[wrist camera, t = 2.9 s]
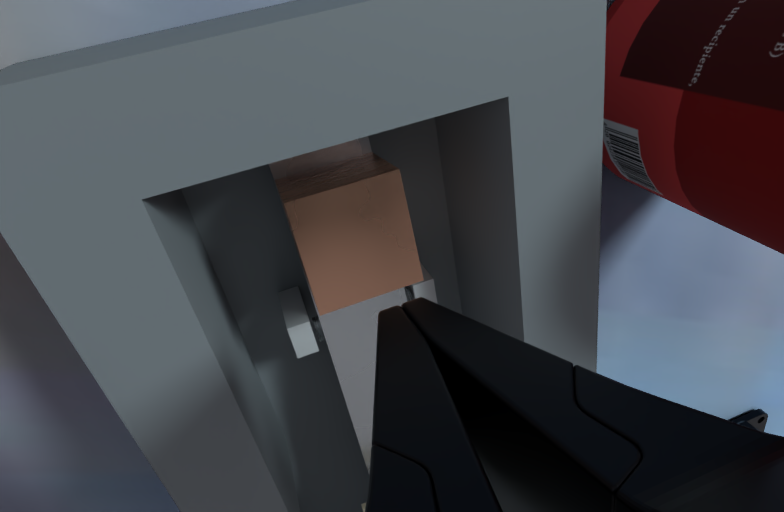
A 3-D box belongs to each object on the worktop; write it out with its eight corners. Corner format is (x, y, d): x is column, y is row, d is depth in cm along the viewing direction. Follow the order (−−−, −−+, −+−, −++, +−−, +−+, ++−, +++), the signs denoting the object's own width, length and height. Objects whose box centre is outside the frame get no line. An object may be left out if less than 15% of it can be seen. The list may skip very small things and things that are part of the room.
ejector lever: (466, 546, 22) (504, 623, 19) (397, 577, 22) (424, 662, 19) (367, 129, 15) (403, 146, 12) (259, 159, 15) (268, 184, 11)
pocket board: (528, 475, 27) (590, 569, 23) (288, 579, 25) (306, 706, 21) (490, -44, 15) (608, -55, 11) (15, 63, 13) (-82, 105, 8)
